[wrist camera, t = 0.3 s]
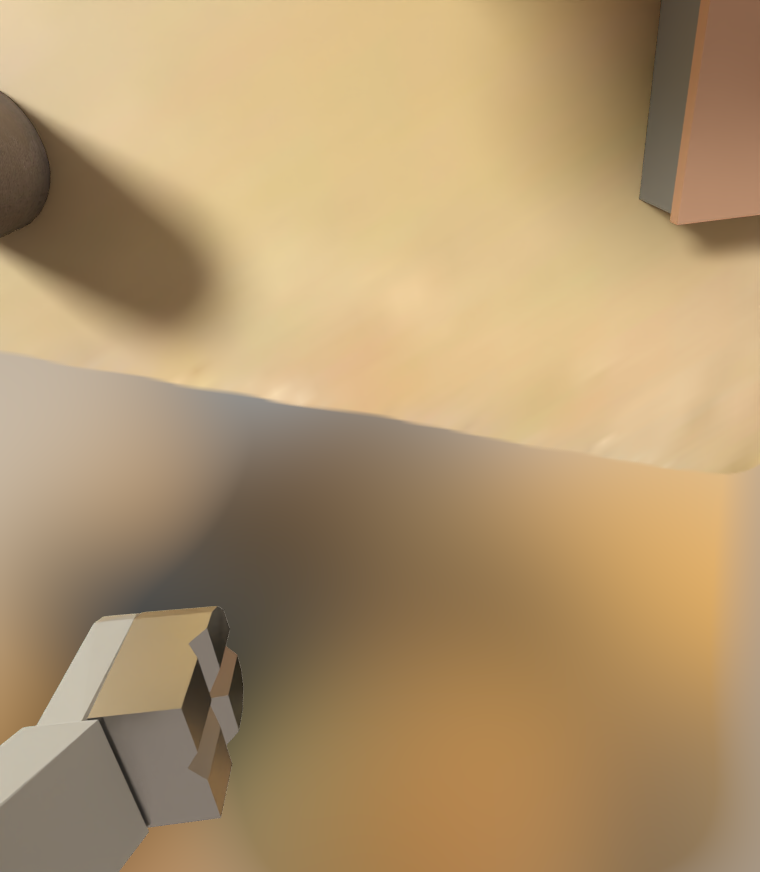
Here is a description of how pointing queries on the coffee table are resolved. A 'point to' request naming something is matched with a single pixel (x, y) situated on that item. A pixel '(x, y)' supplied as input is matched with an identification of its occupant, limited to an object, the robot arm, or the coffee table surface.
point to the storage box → (668, 100)
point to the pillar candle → (20, 169)
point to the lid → (721, 117)
